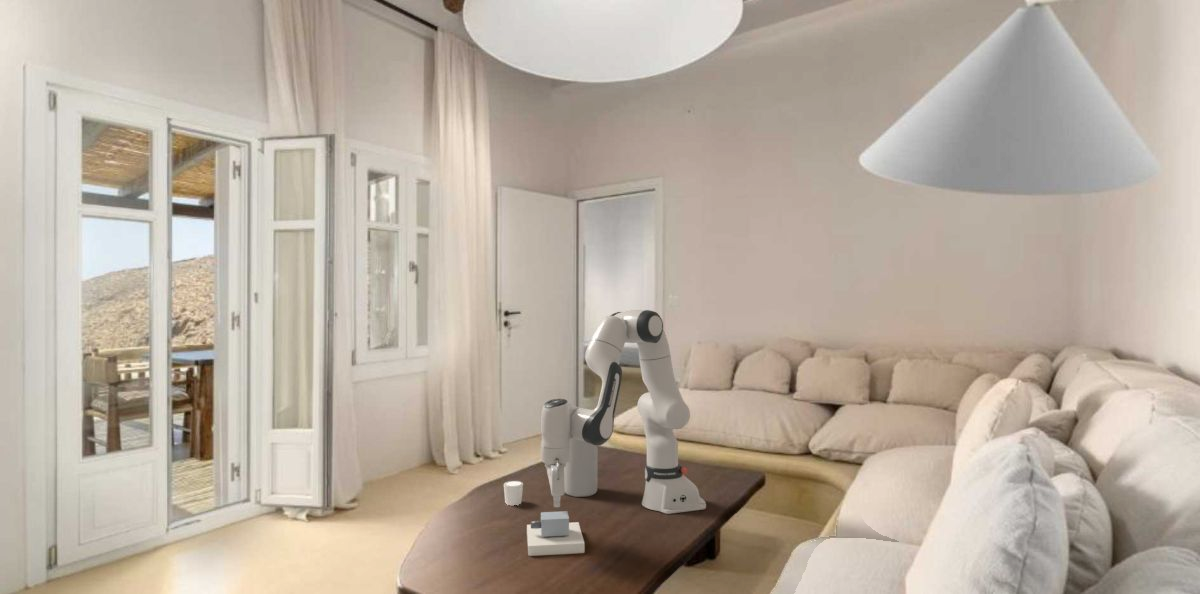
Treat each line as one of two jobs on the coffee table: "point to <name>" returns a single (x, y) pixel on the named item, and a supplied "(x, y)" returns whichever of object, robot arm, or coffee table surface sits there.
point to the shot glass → (513, 492)
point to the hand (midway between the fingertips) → (555, 500)
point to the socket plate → (555, 542)
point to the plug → (553, 524)
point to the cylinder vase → (581, 469)
